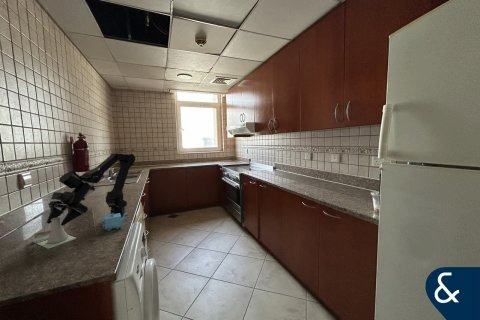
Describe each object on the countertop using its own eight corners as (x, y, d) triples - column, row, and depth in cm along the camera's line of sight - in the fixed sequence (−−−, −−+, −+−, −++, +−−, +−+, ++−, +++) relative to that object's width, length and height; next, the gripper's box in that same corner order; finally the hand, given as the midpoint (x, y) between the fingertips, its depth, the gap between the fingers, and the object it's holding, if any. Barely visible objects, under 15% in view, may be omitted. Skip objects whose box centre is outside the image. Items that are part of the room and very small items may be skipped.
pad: (65, 234, 97) (65, 234, 97) (76, 238, 93) (76, 237, 93) (37, 244, 89) (37, 243, 88) (48, 248, 84) (48, 247, 84)
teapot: (127, 223, 110) (126, 209, 110) (129, 226, 106) (128, 212, 105) (101, 229, 104) (100, 214, 103) (101, 233, 99) (100, 218, 98)
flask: (63, 242, 88) (61, 220, 88) (42, 245, 86) (40, 222, 86) (71, 235, 95) (69, 214, 95) (52, 238, 93) (50, 216, 93)
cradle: (59, 232, 100) (59, 226, 100) (63, 234, 98) (63, 228, 98) (32, 241, 91) (31, 235, 91) (35, 243, 89) (35, 236, 89)
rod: (59, 229, 99) (59, 226, 99) (60, 229, 98) (60, 226, 98) (34, 236, 91) (33, 233, 91) (35, 237, 90) (35, 234, 90)
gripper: (51, 183, 96) (23, 214, 87) (78, 185, 91) (52, 218, 81) (70, 195, 104) (47, 225, 95) (97, 197, 99) (75, 229, 89)
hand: (54, 224), depth 90 cm, fingers open, 9 cm apart
